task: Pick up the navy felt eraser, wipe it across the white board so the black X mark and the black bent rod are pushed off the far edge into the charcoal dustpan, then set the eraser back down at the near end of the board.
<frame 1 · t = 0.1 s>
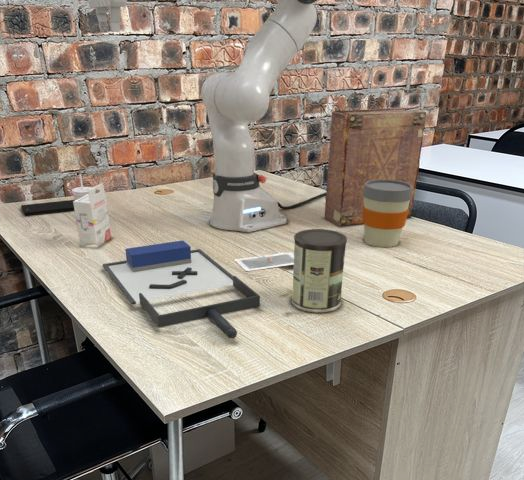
hand: (109, 31, 125), 48 cm above the table, tool pointing down, fingers open, 8 cm apart
whiteboard: (170, 279, 125), on the table
reusable coffee cup: (381, 242, 150), on the table
eraser: (159, 263, 130), point 1 cm above the table, touching whiteboard
smoothie: (88, 224, 159), on the table
black bent rod: (168, 286, 118), point 1 cm above the table, touching whiteboard
x mark: (184, 274, 125), point 1 cm above the table, touching whiteboard
coffee can: (315, 303, 116), on the table
book: (367, 218, 169), on the table
dustpan: (199, 309, 112), on the table
cell phone: (54, 209, 171), on the table
ink cartridge box: (95, 243, 145), on the table
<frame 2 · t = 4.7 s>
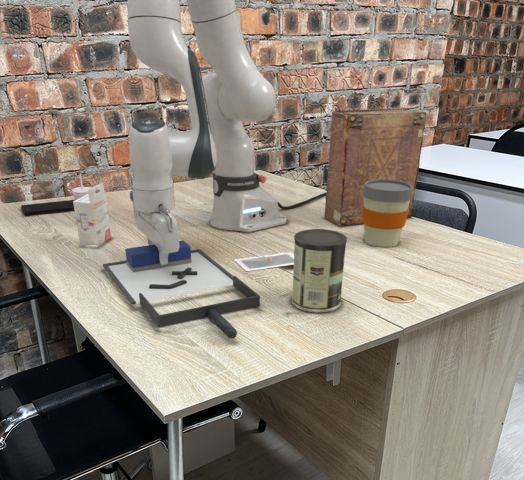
hand: (158, 259, 129), 2 cm above the table, tool pointing down, fingers closed on eraser, 5 cm apart
eraser: (159, 263, 130), point 1 cm above the table, touching gripper, whiteboard
everything else where it was.
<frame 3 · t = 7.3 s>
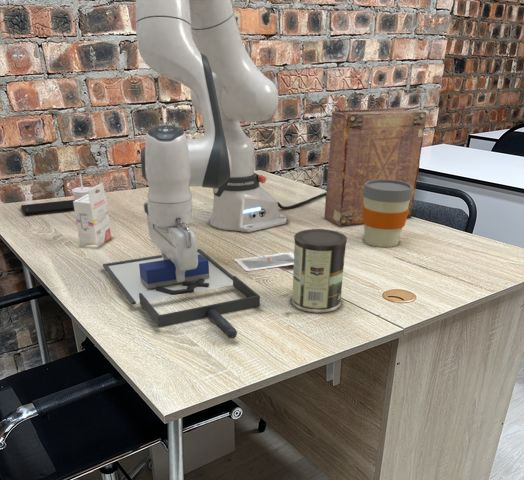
hand: (174, 275, 121), 2 cm above the table, tool pointing down, fingers closed on eraser, 5 cm apart
eraser: (175, 279, 121), point 1 cm above the table, touching gripper, x mark
black bent rod: (174, 292, 116), point 1 cm above the table, touching whiteboard
x mark: (195, 285, 119), point 1 cm above the table, touching eraser
everything else where it was.
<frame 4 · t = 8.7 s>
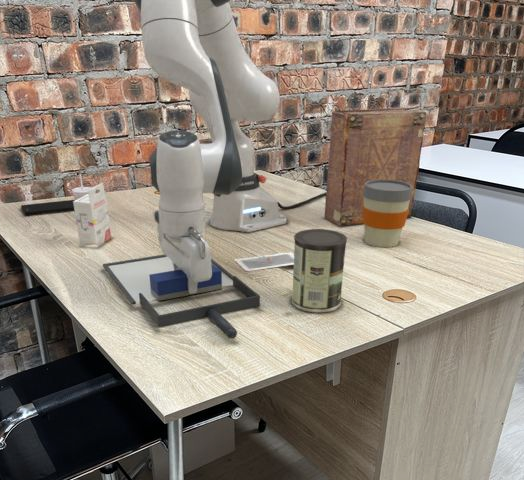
hand: (186, 286, 116), 2 cm above the table, tool pointing down, fingers closed on eraser, 5 cm apart
eraser: (186, 290, 116), point 1 cm above the table, touching gripper
black bent rod: (184, 305, 112), resting on dustpan
x mark: (207, 298, 115), resting on dustpan
everything else where it was.
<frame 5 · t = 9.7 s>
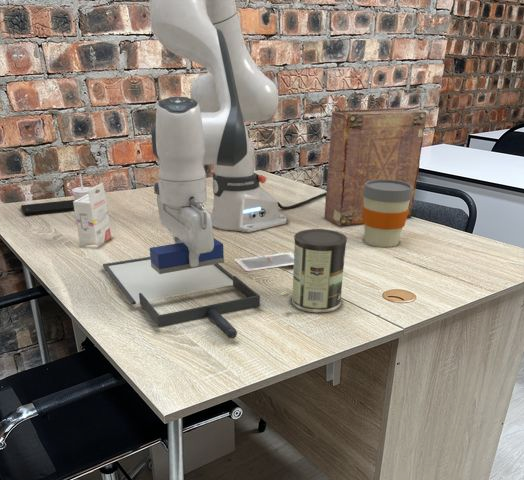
hand: (187, 260, 113), 8 cm above the table, tool pointing down, fingers closed on eraser, 5 cm apart
eraser: (188, 264, 114), point 7 cm above the table, touching gripper
everything else where it was.
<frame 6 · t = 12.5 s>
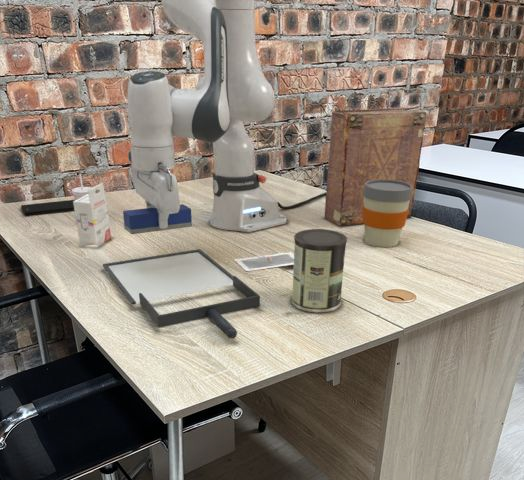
hand: (158, 223, 123), 11 cm above the table, tool pointing down, fingers closed on eraser, 5 cm apart
eraser: (158, 227, 124), point 10 cm above the table, touching gripper
everything else where it was.
when the fingers open (2 cm above the table, at t = 15.0 s): eraser stays where it is, resting on whiteboard.
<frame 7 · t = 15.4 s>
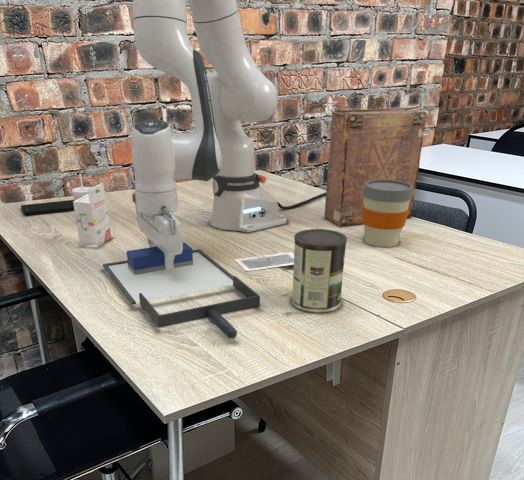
hand: (161, 261, 128), 2 cm above the table, tool pointing down, fingers open, 8 cm apart
eraser: (160, 266, 129), point 1 cm above the table, touching whiteboard
everything else where it was.
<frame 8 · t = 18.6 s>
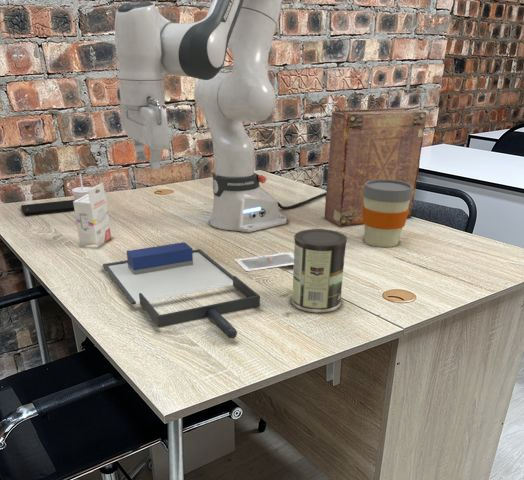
hand: (148, 164, 121), 23 cm above the table, tool pointing down, fingers open, 8 cm apart
nothing on the table moved.
at the end: x mark inside the target area in the dustpan (4.5 cm from its centre), point 0.4 cm above the dustpan's base; black bent rod inside the target area in the dustpan (3.4 cm from its centre), point 0.4 cm above the dustpan's base; eraser inside the target area on the whiteboard (2.0 cm from its centre), point 1.2 cm above the whiteboard's base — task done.
